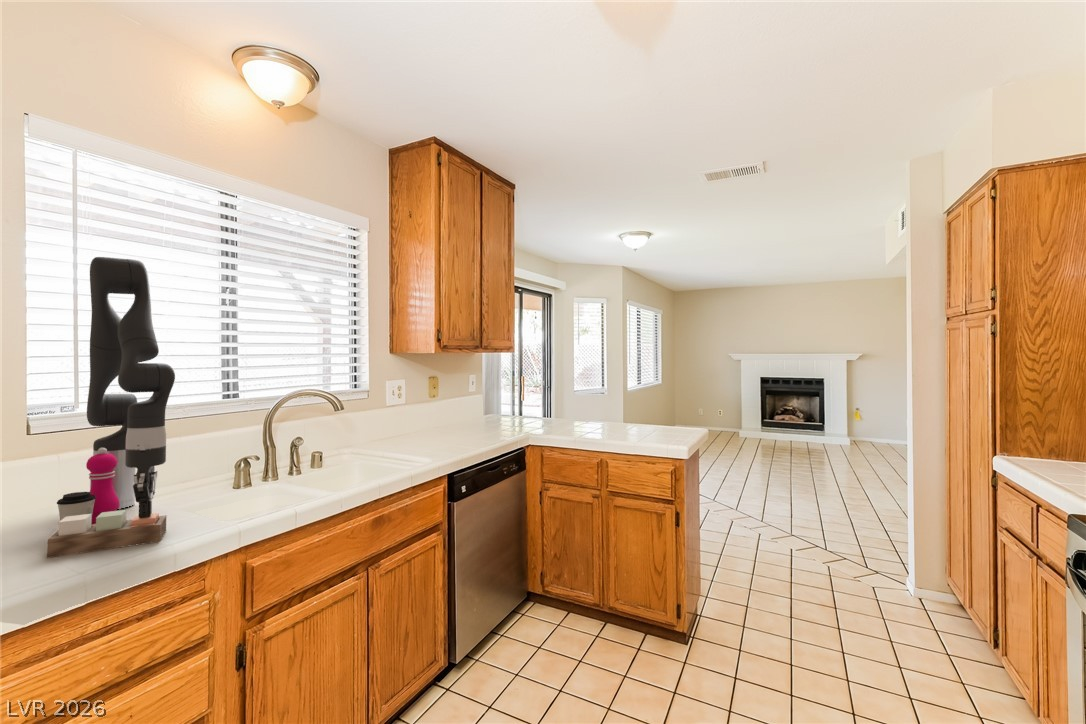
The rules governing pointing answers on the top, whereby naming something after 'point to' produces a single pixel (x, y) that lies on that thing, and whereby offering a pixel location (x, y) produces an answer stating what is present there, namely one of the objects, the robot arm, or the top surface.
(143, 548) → the top surface
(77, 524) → the ivory key
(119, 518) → the sage key
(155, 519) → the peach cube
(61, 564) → the top surface
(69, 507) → the coffee cup
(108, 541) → the wooden tray
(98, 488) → the pepper mill
